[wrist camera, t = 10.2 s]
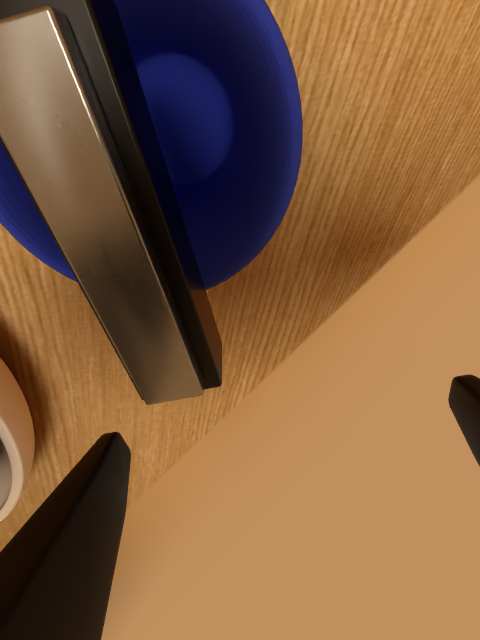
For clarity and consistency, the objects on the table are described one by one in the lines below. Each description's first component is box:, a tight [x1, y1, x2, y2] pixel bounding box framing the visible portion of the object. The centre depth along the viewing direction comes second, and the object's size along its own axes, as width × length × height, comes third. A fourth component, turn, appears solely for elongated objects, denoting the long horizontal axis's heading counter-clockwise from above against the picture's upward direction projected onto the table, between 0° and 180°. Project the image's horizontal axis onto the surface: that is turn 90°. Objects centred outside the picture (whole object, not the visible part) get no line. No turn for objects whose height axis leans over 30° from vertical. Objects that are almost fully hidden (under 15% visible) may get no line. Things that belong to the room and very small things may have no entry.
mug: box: [0, 0, 303, 290], centre depth 13 cm, size 8×12×10 cm
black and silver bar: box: [0, 0, 222, 405], centre depth 8 cm, size 9×2×3 cm, turn 12°
